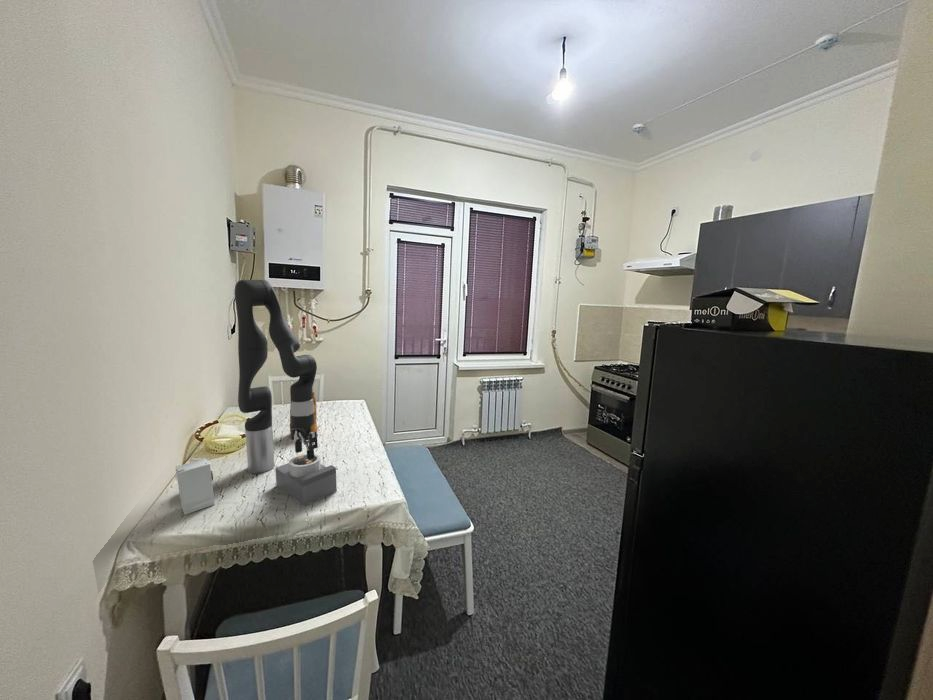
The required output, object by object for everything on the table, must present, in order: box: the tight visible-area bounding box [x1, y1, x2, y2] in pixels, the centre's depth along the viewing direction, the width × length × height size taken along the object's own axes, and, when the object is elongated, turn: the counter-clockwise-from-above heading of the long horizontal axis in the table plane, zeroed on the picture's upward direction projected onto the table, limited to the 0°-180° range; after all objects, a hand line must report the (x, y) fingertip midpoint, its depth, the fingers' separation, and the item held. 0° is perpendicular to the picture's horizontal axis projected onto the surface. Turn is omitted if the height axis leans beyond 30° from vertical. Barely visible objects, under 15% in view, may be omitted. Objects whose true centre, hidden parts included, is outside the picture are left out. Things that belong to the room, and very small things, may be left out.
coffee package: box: [289, 391, 318, 437], centre depth 171 cm, size 10×12×22 cm
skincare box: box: [175, 457, 216, 516], centre depth 111 cm, size 8×6×15 cm
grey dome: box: [297, 456, 313, 465], centre depth 123 cm, size 6×5×4 cm
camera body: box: [275, 453, 337, 507], centre depth 123 cm, size 20×12×11 cm, turn 52°
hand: (304, 455), depth 122 cm, fingers open, 8 cm apart
